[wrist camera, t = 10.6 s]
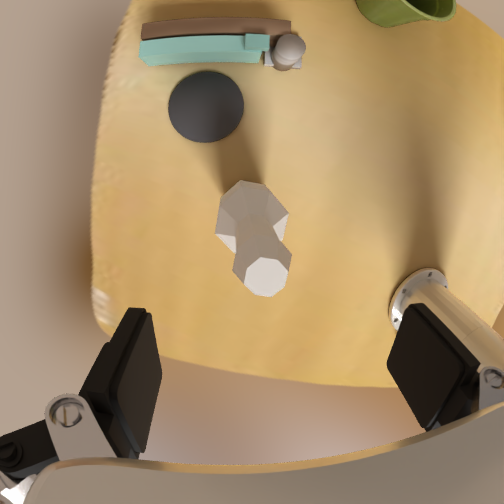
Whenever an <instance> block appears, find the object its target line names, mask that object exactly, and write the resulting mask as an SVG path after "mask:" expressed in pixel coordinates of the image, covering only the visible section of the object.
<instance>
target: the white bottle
mask: <svg viewBox="0 0 504 504" xmlns="http://www.w3.org/2000/svg"><path fill="white" fill-rule="evenodd" d="M288 214H289V213H288V211H287V210H286V209H285V208H284V206H283V205H282V204H281V203H280V202H279V200H278V199H277V198H276V197H275V196H274V195H273V194H272V192H271V191H270V190H269V189H268V188H267V187H266V185H263V184H259V183H254V182H248V181H242V180H240V181H239V182H237V183H236V184H235V185H234V186H233V187H232V188H231V189H229V190H228V191H227V192H226V193H225V194H224V195H223V196H222V197H221V200H220V206H219V212H218V218H217V224H216V230H215V234H216V235H217V236H218V237H219V238H220V239H221V240H222V241H223V242H224V243H225V244H226V245H227V246H228V247H229V248H230V249H231V250H232V251H233V253H236V254H235V259H234V265H233V270H232V271H233V272H234V273H235V274H236V275H237V277H238V278H239V279H240V280H241V281H242V282H243V284H244V285H245V286H246V287H247V288H249V289H250V290H251V291H252V292H253V293H254V294H255V295H260V296H268V297H272V296H273V295H275V294H276V293H277V292H278V291H280V290H281V289H282V288H283V287H284V286H285V283H286V279H287V275H288V271H289V266H290V261H291V256H292V254H291V253H290V252H289V250H288V249H287V248H286V247H285V246H284V244H283V243H282V242H281V241H282V240H283V236H284V232H285V227H286V223H287V219H288Z"/></svg>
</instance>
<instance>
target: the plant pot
mask: <svg viewBox="0 0 504 504" xmlns="http://www.w3.org/2000/svg"><path fill="white" fill-rule="evenodd" d="M356 3H357V6H358V8H359V10H360V11H361V13H362V14H363V15H364V16H365V17H366V18H367V19H368V20H369V21H371V22H373V23H375V24H378V25H380V26H382V27H394V26H397V25H402V24H406V23H410V22H415V21H420V20H434V21H441V22H442V21H448V20H450V19H451V18H452V17H453V16H454V15H455V12H456V1H455V0H356Z"/></svg>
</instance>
